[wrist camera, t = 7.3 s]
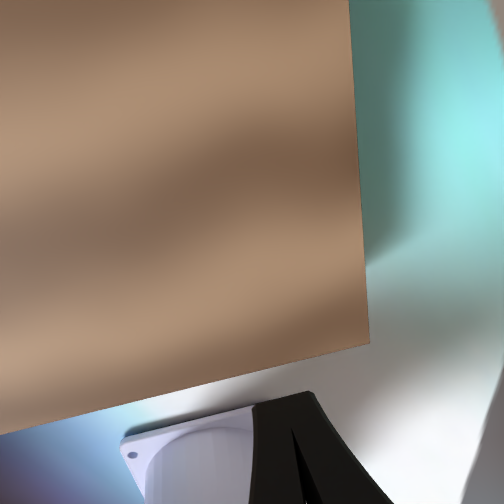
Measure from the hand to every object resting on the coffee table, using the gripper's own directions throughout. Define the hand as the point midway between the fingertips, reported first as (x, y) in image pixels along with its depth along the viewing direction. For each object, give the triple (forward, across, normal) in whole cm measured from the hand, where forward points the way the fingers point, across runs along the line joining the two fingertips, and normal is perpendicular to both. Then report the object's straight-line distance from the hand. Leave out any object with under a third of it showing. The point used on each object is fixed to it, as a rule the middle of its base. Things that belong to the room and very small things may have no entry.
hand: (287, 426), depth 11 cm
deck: (+10, +4, -3) cm, 11 cm away
